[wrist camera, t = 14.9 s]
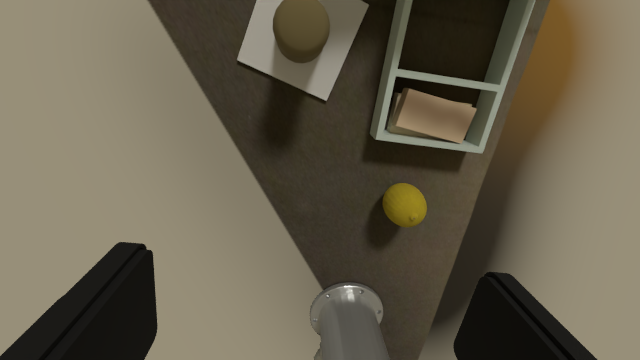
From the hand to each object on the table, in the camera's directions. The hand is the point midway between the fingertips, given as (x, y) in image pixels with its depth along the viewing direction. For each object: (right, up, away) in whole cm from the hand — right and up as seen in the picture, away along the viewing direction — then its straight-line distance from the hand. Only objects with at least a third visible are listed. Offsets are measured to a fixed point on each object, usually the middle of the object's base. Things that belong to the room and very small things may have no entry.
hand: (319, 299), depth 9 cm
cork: (-2, +21, +27) cm, 34 cm away
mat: (-2, +21, +27) cm, 35 cm away
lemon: (+11, +2, +36) cm, 38 cm away
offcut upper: (+14, +12, +31) cm, 36 cm away
